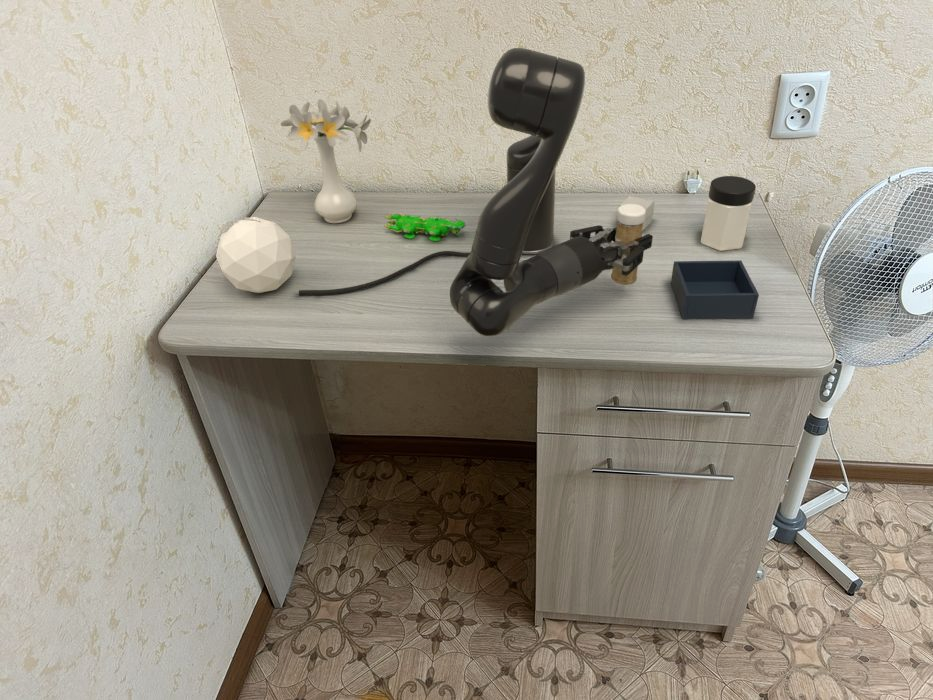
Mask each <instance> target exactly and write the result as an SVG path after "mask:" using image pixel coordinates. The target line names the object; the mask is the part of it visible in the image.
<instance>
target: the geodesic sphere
mask: <svg viewBox="0 0 933 700" xmlns="http://www.w3.org/2000/svg"><path fill="white" fill-rule="evenodd" d="M222 225H223V226H221V227H220V228H219V230H221V231H223V233H222V234H221V235H220V238H219V242H218V246H217V249H216V254H215V257H216V260H217V262H218V265H219V266H220V269H221V271H222V274H223V276H225V277H226V279H227V280H228V281H229V282H230V283H231V284H232V285H233V286H234V287H235V288H236V289H237V290H241V291H245V292H251V293H254V294H255V293H256V294H263V293H267V292H271V291H276V290H278V289H279V288H280V287H281V286H282V285H283V284H284V283H285V282H286V281H287V280H288V279H289V278H290V277H291V276H292V275H293V271H294V267H295V262H296V258H297V253H296V250H295V247H294V245H293V242H292V241H293V240H292V237H290V235H288V233H287V232H285V230H284V229H283V228H282V227H281V226H280V225H279V224H278V223H276V222H273V221H270V220H267V219H264V218H260V217H257V216H252V217H249V216H248V217H247V216H246V215H245V216H243V219H240V220H237V221H234V222H231V221H230V222H227V223H226V224H222Z"/></svg>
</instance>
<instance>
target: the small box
mask: <svg viewBox="0 0 933 700" xmlns="http://www.w3.org/2000/svg"><path fill="white" fill-rule="evenodd" d="M625 204H636V205H640V206H642V207H644V208H645V210H646V215H645V221H644V223H643V229H642V232H644V231H645V230H646V228H647V227H648V226H649V225H650V224H651V223H652V221H653V217H654V208H655V199H649V198H644V197H639V196H633V195H628V196H627V198H626V199H625V200H623V202H621V203H620V204H619V205H618V206H619V207H620V206H622V205H625ZM619 207H618V208H619Z"/></svg>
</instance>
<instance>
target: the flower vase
mask: <svg viewBox="0 0 933 700" xmlns="http://www.w3.org/2000/svg"><path fill="white" fill-rule="evenodd" d="M335 105H336V106H333V107H332V108H330V109H328V106H327V103H326V102H325V100H323V99H322V98H319V99H318V100H317V108H318V111H316V110H311V111H309V109H310V106H311V103H310V102H309V101H307V102H305V103H304V104H303V106H302V107H301V110H300V109H299V108H298V106H297V105H296V104H290V106H289V107H288V108H289V109H288V111H289V112H288V113H289V115H290V117H289V118H286V119H284V120H282V121H281V122H280V126H281V127H291V128H290V131H289V132H288V133H287V136H286V137H287V139H288V140H289V141H296V140H298V139H300V140H299V147H300V149H301V150H302V151H306V150H307V148H308V145H309V141H310V139H313V140H314V141H315V144H316V146H317V150H318V152H319V158H320V164H321V169H322V170H321V171H322V186H321V190H320V191H319V192H318V194H317V195H316V196H315V199H314V210H315V211H316V213H317V214H318V215H320V216H321V218H322V217H323V219H324V221H325V222H326V223H329V224H342V223H345V222H348V221H349V220H350V219H351V218H352V217H353V213H354V212H355V210H356V209H357V206H358V200H357V198H356V195H355V194H354V193H353V192H352V190H350V189H349V188H347V187H346V186H345V185H344V183H343V182H342V179H341V177H340V175H339V170H338V167H337V162H336V156H335V150H334V149H335V148H334V147H335V145H336V143H337V141H336V140H337V139H338V140H341V141H343V142H348V141H349V139H350V137H349V135H348V134H347V133H346V132H345V131H343V130H346V131H351V132H353V134H354V136H355V139H356V142H357V146H358V152H359V153H361V152H362V146H363V144H364V145H367V144H368V135H367V133H366V132H365V131H366V130H367V129H368V128H369V126H370V125H371V121H372V119H371V118H368V119H367V117H368V115H367V114H365V116H364V117H363V118H362V120H361V121H360V122H359V123H358V122H357V121H356V120H353V119H350V110H349V109H348V107H347V106H343V107H341V105H340V104H339V102H338V101H337V100H335ZM313 126H314V127H315V128H314V127H313ZM362 143H363V144H362Z"/></svg>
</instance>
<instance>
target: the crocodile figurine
mask: <svg viewBox="0 0 933 700" xmlns="http://www.w3.org/2000/svg"><path fill="white" fill-rule="evenodd" d="M384 219H386V220H388V221H386V223H387V224H385V225H384V224H383V227H385V228H386V229H388V230H391V231H394V232H395V233H400V232H401V233H404V235H403V237H404V238H406V239H408V240H412V239H413V240H414V239H415V238H416V235H415V234H419V233H425V235H428V234H430V236H429V237H428V239H429V240H430V241H431V242H439V241H441V237H447V235H448V234H449V233H452V234H454V235H456V237H460V235H461V233H460V232H461V231H462V229H463V228H465V227H467V224H466V222H465V221H463V220H461V219H457V218H453V219H452V220H448V219H447V218H440V217H439V216H435V217H434V218H432V217H430V216H428V217H427V218H425V217H421V215H419V216H412V215H411V214H410V213H408V214H402V213H395V214H388V215H386V216H384Z"/></svg>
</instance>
